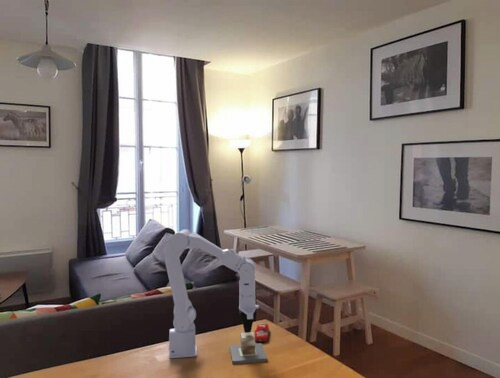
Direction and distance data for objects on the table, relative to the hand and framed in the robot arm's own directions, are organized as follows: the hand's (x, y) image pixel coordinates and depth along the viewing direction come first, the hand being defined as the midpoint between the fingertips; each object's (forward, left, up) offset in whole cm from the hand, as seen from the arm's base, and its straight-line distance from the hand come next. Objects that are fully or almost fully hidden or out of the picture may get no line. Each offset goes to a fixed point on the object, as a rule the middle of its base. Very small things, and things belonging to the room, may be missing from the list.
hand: (247, 331), depth 138 cm
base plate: (0, 0, -8) cm, 8 cm away
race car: (+8, +15, -9) cm, 19 cm away
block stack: (0, 0, -7) cm, 7 cm away
